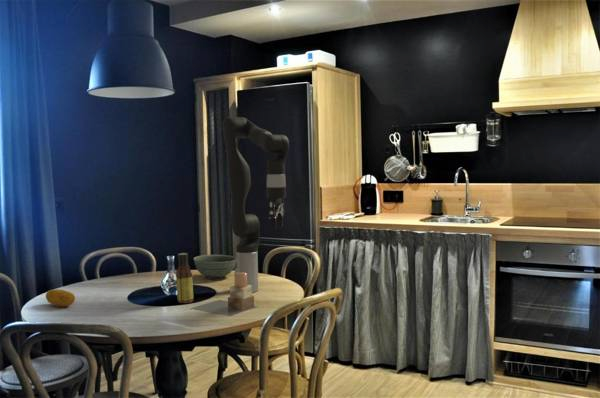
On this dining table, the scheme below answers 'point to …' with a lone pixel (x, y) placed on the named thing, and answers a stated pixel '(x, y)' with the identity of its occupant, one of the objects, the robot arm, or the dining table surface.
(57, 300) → the potato
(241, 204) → the robot arm
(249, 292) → the birch block
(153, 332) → the dining table surface
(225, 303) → the slate board
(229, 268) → the bowl
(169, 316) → the dining table surface
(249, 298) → the walnut block
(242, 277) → the pink cube
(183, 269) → the sauce bottle
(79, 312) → the dining table surface
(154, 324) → the dining table surface
